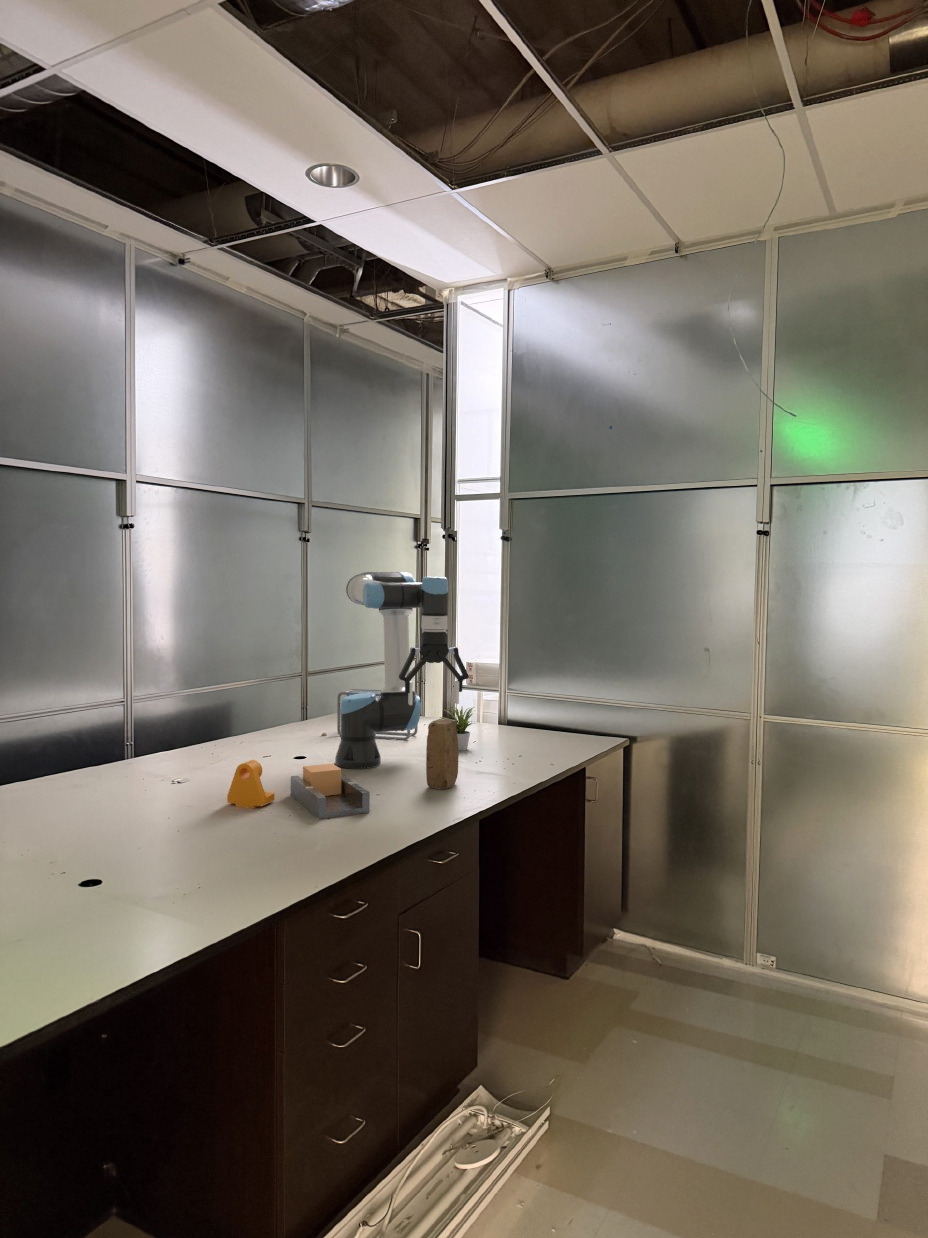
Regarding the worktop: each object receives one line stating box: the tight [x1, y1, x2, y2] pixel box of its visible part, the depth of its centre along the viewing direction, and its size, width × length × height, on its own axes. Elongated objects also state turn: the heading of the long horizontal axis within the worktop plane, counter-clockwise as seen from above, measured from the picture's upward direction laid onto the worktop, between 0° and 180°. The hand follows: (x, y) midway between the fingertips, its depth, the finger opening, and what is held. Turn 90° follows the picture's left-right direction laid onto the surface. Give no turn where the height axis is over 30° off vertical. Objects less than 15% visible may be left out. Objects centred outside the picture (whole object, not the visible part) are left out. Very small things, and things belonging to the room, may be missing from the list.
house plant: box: [439, 706, 477, 752], centre depth 301 cm, size 14×14×16 cm
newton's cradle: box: [336, 688, 419, 741], centre depth 323 cm, size 30×10×18 cm, turn 75°
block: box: [425, 718, 459, 790], centre depth 246 cm, size 11×8×20 cm
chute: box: [290, 773, 371, 820], centre depth 226 cm, size 26×14×6 cm, turn 28°
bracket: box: [226, 759, 276, 809], centre depth 225 cm, size 11×7×12 cm, turn 73°
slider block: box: [302, 763, 342, 796], centre depth 231 cm, size 8×9×7 cm
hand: (433, 704), depth 237 cm, fingers open, 13 cm apart
